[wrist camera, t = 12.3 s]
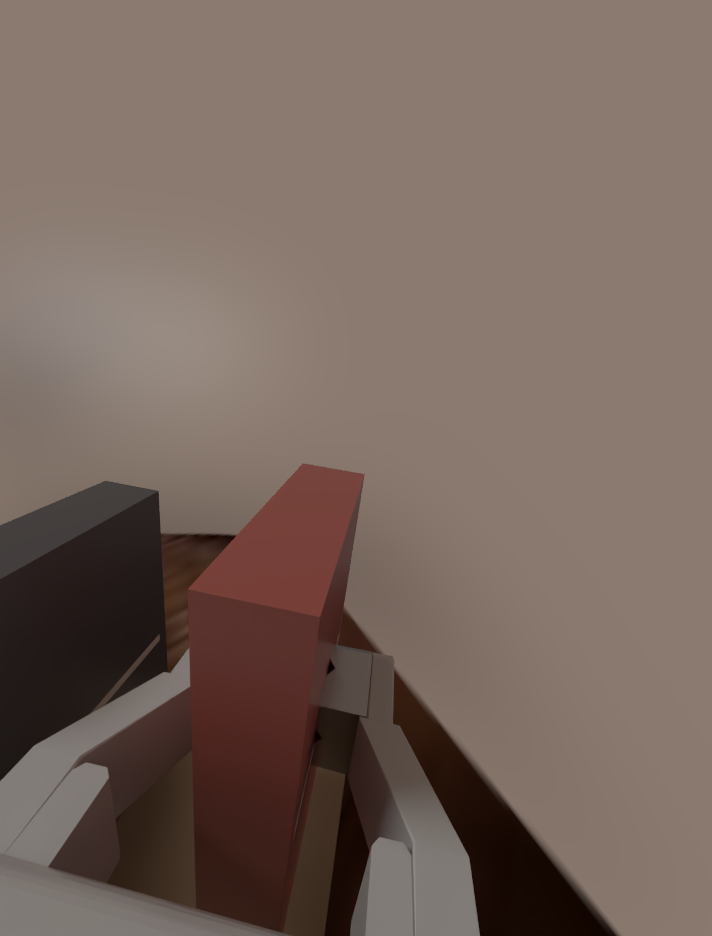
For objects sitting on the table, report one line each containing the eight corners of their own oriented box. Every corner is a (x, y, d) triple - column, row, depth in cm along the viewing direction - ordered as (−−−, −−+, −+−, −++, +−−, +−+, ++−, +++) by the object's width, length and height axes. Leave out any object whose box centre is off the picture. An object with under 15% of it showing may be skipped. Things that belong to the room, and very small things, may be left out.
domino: (-24, 934, 8) (-174, 598, 5) (130, 723, 13) (105, 481, 10) (37, 952, 8) (-76, 622, 5) (171, 733, 13) (158, 490, 10)
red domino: (197, 974, 7) (187, 589, 4) (277, 731, 12) (302, 463, 9) (270, 996, 7) (321, 616, 4) (322, 741, 12) (365, 474, 9)
